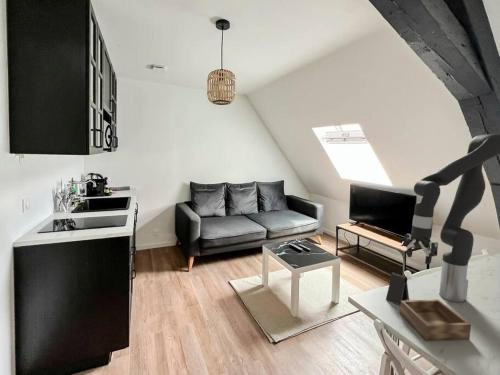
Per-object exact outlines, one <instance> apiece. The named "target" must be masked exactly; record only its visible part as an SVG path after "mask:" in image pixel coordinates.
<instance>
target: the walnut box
mask: <svg viewBox="0 0 500 375" xmlns="http://www.w3.org/2000/svg"><path fill="white" fill-rule="evenodd" d="M399 306H400V309H399V315H400V316H401V317H402V318H403V319H404V320H405V321H406V322H407V323H408V324H409V325H410V326H411V327H412V328H413V330H414V331H416V332H417V334H418V335H419V336H421V338H422V340H425V341H426V342H438V341H439V342H443V341H445V342H446V341H467V340H470V339H471V338H470V337H471V329H472V324H471V323H470V322H469V321H467V320H466V319H465V318H464V317H462V316H461V315H460V314H458V313H457V312H456V311H454V310H453V309H452V308H450V307H449V306H448V305H446V304H445V303H444V302H443V301H441V300H440V299H435V298H434V299H414V300H413V299H411V300H410V299H408V300H406V301H401V305H399Z"/></svg>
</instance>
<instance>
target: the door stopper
mask: <svg viewBox="0 0 500 375" xmlns="http://www.w3.org/2000/svg"><path fill="white" fill-rule="evenodd" d="M408 287H409V286H408V277H407V276H406V275H405V276H404V274H403V275H402V274H399V273H396V272H393V271H392V272H391V273H390V280H389V285H388V289H387V294H386V298H385V300H387V301H388V302H391V303H394V304H395V305H398V306H400V305H401V301H406V300H410V294H409V288H408Z"/></svg>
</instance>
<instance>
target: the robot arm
mask: <svg viewBox="0 0 500 375" xmlns="http://www.w3.org/2000/svg"><path fill="white" fill-rule="evenodd" d="M499 155H500V134H499V133H496V134H495V133H489V134H479V135H476V136H474V137H473V138H472V139H471V141H470V143H469V144H468V150H467V153H466V154H465V155H463V156H461V157H459V158H457V159H454V160H453V161H450V162H448V163H447V164H445V165H444V166H442V167H441V168H440V169H438V170H437V171H435V172H433V173H432V174H429V175H427V176H425V177H423V178H421V179H419V180H418V181H417V182H415V184H414V186H413V191H414V194H415V195H418V196H419V197H422V198H421V199H420V201H417V202H416V203H415V206H414V212H413V213H414V214H413V217H412V224H411V226H412V227H411V233H406V234H404V239H403V244H402V245H403V247H406V257H408V258H412V257H413V251H414V250H413V248H414V247H416V248H418V249H422V251H423V252H424V253H425V255H426V256H425V261H424V264H425V265H430V264H431V263H432V260H433V259H432V257H437V256H438V249H439V248H438V247H439V243H438V242H437V241H435V242H434V241H432V240H431V238H432V233H433V225H434V210H435V207H436V205H437V203H438V200H439V198H440V196H441V187H442V186H444V187H445V186H447V185H449V184H451V183H452V182H454V181H455V180H457V179H458V178H459V177H460V176H461V177H460V180H459V183H458V185H457V189H456V192H455V194H454V198H453V202H452V205H451V207H450V209H449V213H448V215H447V217H446V219H445V221H444V224H443V226H442V228H441V230H440V235H439V236H440V237H439V238H440V240H441V242H442V243H443V244H445V245H447V246H449V247H451V248H452V249H451V252H450V251H447V252H444V253H443V254H442V260H441V272H440V282H439V285H440V286H439V294H438V295H439V296H440V297H441V298H443V299H445V300H447V301H450V302H454V303H462V302H464V301H467V298H468V297H467V296H468V290H469V289H468V287H469V279H467V277H468V268H469V266H468V265H469V261H470V259H471V257H472V254H473V252H472V251H473V247H474V235H473V233H472V231H470V230H469V229H468V230H467V229H465V228H462V227H461V226H462V224H463V221H464V219H465V218H466V216H467V215H468V214H469V213H470V212H472V211H473V210H474V209H475V208H476V207H477V206H478V205H480V203H481V202H482V201H483V200H482V199H483V197H484V193H485V191H486V180H485V176H484V173H483V165H484V162H486V161H489V160H490V159H492V158H494V157H496V156H499Z"/></svg>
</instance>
